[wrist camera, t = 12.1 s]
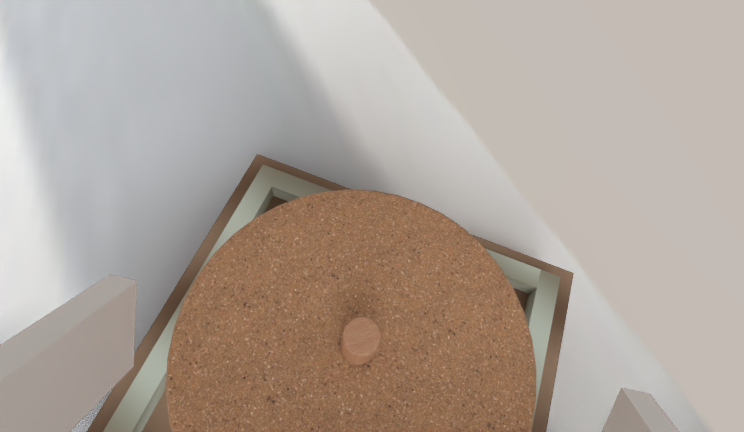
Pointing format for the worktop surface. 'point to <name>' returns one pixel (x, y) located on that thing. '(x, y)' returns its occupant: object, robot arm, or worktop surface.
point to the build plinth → (264, 192)
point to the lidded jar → (351, 326)
